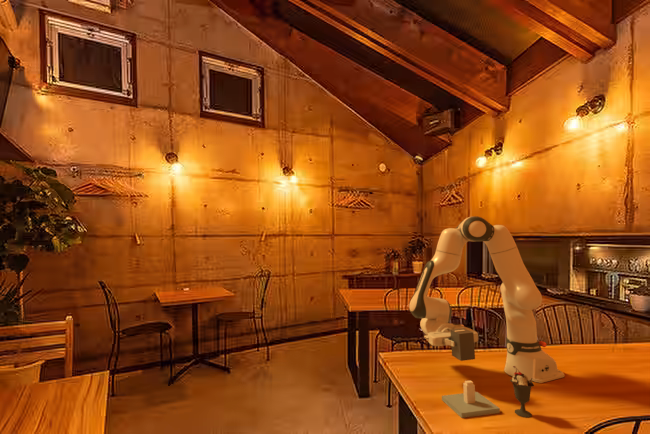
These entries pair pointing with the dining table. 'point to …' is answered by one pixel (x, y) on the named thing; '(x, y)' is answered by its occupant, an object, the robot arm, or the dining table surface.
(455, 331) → the slotted ballot box
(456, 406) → the post
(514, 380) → the sundae
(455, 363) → the dining table surface
